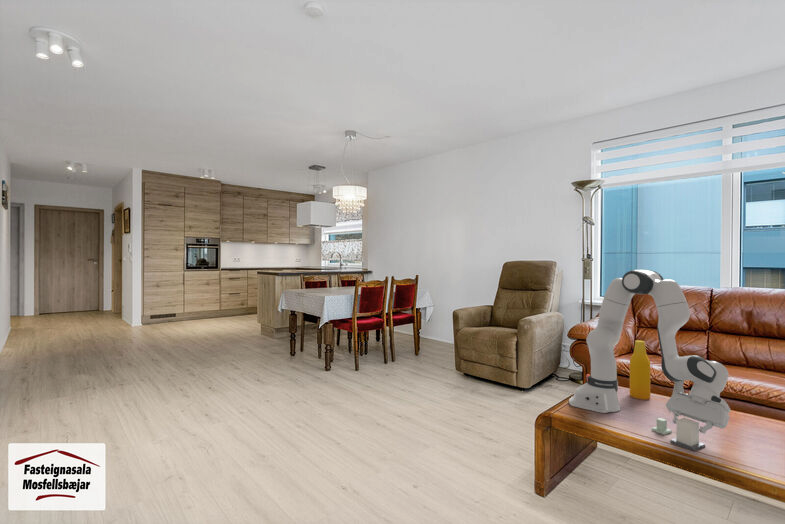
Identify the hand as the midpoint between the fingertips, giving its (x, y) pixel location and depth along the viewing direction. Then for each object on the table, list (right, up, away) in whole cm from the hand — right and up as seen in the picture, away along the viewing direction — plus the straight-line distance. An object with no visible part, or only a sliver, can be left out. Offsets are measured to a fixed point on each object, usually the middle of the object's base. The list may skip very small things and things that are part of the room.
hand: (688, 427), depth 155 cm
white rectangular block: (0, -6, 0) cm, 6 cm away
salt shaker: (+25, -6, +41) cm, 48 cm away
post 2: (0, -7, 0) cm, 7 cm away
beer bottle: (+13, -6, +52) cm, 54 cm away
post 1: (-2, -6, +12) cm, 13 cm away
